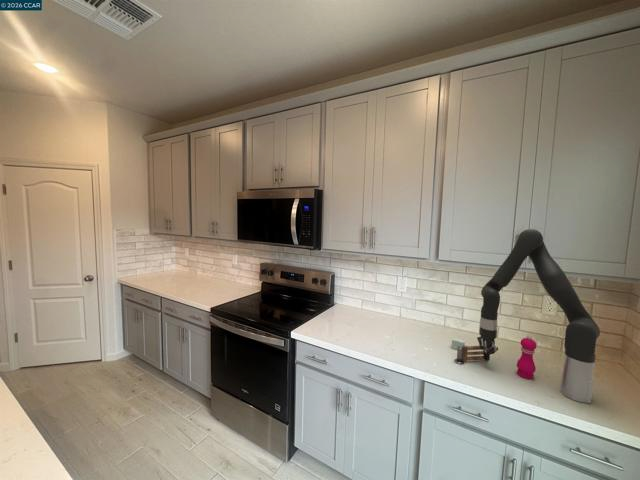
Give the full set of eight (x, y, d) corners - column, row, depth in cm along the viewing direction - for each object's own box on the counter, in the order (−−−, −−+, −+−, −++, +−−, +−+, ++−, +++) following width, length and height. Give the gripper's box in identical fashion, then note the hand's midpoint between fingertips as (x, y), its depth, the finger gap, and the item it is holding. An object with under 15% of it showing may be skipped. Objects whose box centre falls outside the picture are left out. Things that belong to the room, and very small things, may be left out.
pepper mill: (527, 381, 125) (531, 339, 123) (512, 372, 132) (516, 333, 130) (538, 379, 127) (543, 338, 125) (523, 370, 134) (527, 331, 132)
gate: (486, 359, 142) (487, 344, 142) (488, 360, 141) (489, 346, 140) (461, 360, 141) (463, 345, 140) (463, 362, 139) (465, 347, 138)
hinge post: (464, 362, 140) (466, 347, 139) (463, 365, 136) (464, 350, 136) (455, 359, 143) (456, 344, 142) (453, 362, 139) (454, 347, 138)
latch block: (464, 349, 153) (464, 341, 152) (463, 351, 150) (463, 343, 150) (452, 346, 157) (453, 337, 156) (451, 348, 154) (452, 339, 154)
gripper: (505, 332, 129) (502, 366, 130) (486, 321, 142) (484, 353, 143) (490, 332, 128) (488, 367, 130) (472, 321, 141) (471, 353, 143)
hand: (486, 359), depth 137 cm, fingers closed
